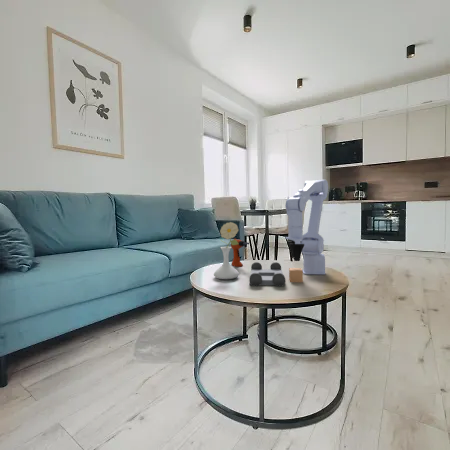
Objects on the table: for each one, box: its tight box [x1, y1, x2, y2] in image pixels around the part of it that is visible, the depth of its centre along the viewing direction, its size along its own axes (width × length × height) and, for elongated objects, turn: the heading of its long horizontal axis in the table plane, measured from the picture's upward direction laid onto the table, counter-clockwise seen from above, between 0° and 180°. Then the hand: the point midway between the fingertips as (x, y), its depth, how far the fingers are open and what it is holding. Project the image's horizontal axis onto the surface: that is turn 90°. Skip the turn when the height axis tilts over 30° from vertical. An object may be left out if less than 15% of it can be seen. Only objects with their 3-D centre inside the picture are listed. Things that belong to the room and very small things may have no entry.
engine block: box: [288, 267, 304, 283], centre depth 115 cm, size 5×4×5 cm
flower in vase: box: [213, 221, 240, 280], centre depth 121 cm, size 13×11×25 cm
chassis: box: [248, 261, 286, 287], centre depth 120 cm, size 14×24×5 cm, turn 173°
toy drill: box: [230, 238, 250, 268], centre depth 145 cm, size 5×19×15 cm, turn 24°
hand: (295, 259), depth 115 cm, fingers open, 7 cm apart
